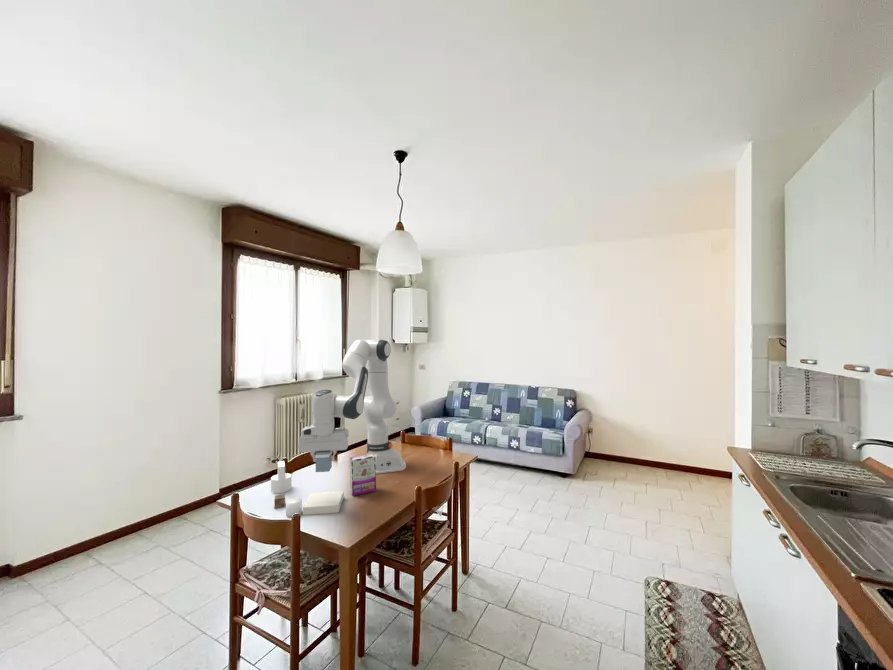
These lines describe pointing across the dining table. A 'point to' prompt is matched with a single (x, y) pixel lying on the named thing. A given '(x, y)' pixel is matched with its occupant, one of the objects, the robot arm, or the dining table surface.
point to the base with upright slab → (281, 480)
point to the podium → (323, 503)
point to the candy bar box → (362, 474)
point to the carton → (323, 461)
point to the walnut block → (279, 501)
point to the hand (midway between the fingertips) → (323, 460)
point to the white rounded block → (293, 506)
